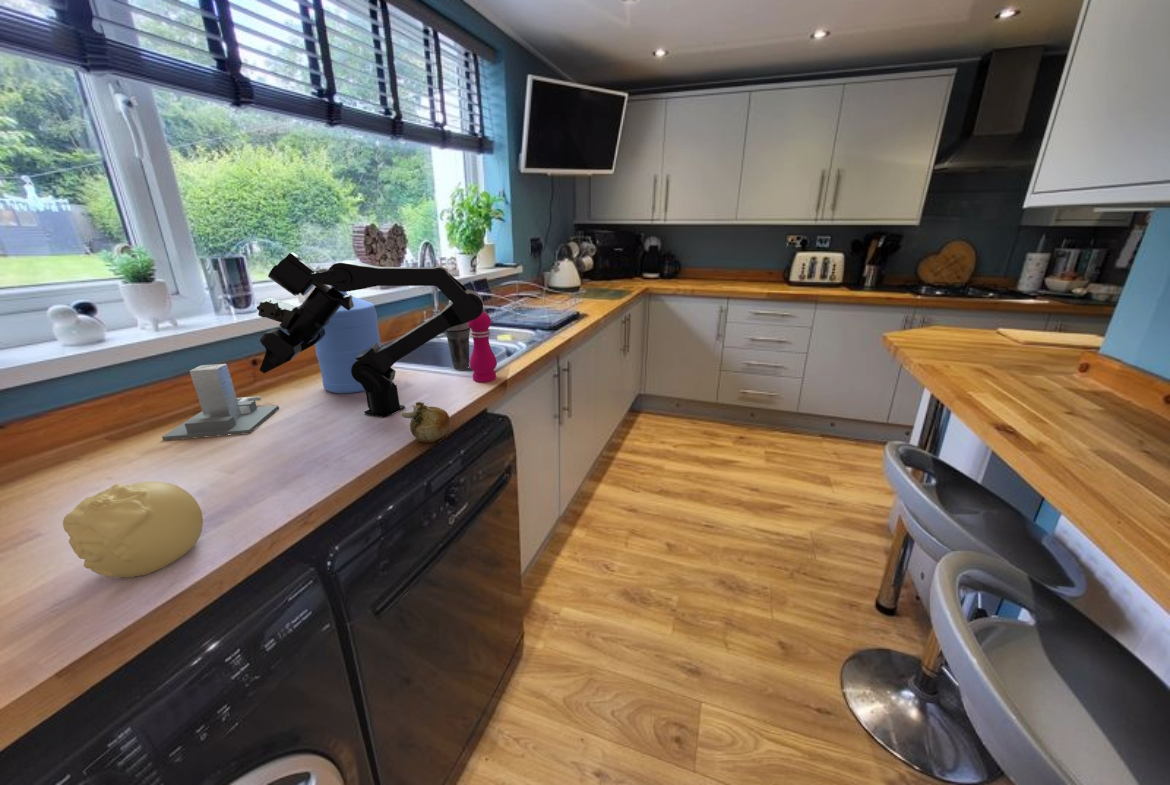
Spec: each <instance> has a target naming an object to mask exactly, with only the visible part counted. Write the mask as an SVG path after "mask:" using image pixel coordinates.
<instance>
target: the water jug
mask: <svg viewBox="0 0 1170 785" xmlns="http://www.w3.org/2000/svg"><path fill="white" fill-rule="evenodd" d="M329 287H330V288H332V287H333V286H331V285H329ZM340 292H341V293H343V294H344V295H349V293H348V292H342V291H340ZM352 301H353V304H354V307H353V308H351V309H350V310H347V309H345V308H344V307H343V306H341V307H340V308H339V309H338V310H337V311H336V313H335V314H334V315H333V316H332V317H331V319H330V320H329V321H330V322H329V323H328V324H327V325H326V326H324V327H323V328H324V329H325V335H324V336H323V338H322V339H321V340H320V341H318V342H317V343H316V344H314V347H315V355H316V358H317V360H318V364H319V365H318V366H319V369H320V374H321V381H322V385H323V388H324V389H325V390H326V391H328V392H330V393H334V394H351V393H352V394H353V393H361V392H366V391H365V389H364V388H363V386H362V385H361V383H359V382H357V381H356V380H355V379H354V378H353V376H352V373H351V368H352V365H353V364H354V363H355V361H356V359H355V358H356V357H357V356H358V354H359V353H360V352H361V351H362V350H366V349H368V348H370V347H371V346H372V345H373V344H374V343H375V342H377V343H378V345H379V347H381V346H382V342H381V337H380V330H379V325H378V314H377V311H376V306H375V304H374V303H373V302H370V301H367V300H364V299H362V298H359V297H355V296H353V295H352Z"/></svg>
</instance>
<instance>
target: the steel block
mask: <svg viewBox="0 0 1170 785" xmlns="http://www.w3.org/2000/svg"><path fill="white" fill-rule="evenodd" d="M228 367H229V366H228V364H227V363H218V364H201V365H198V366H197V367H195V368H192V369H191V370H189V374H190V377H191V380H192V384H193V386H194V389H195V393H196V395H197V400H198V402H199V405H200V409H201V411H202V412H203V415H204V418H215V417H229V416H234V417H235V420H237V419H238V418H239V417H241V416H242V415H241V411H240V408H239V404H238V401H237V398H238V397H237V394H236V391H235V387H234V384H233V380H232V377H231V374H230V370H229V368H228Z"/></svg>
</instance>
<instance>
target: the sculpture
mask: <svg viewBox="0 0 1170 785" xmlns="http://www.w3.org/2000/svg"><path fill="white" fill-rule="evenodd" d="M62 526H63V530H64V532H66V533H67V535H68V536H69V539H68V544H69V545H70V547H71V548H72V551H73V552H74V554H75V555H76V556H77V557H78V558H79V559H81V560H84V562H83V567H84V568H85V569H89V570H90V571H91V572H93V573H96V574H97V575H101V576H105V577H106V578H136V577H135V576H137V577H141V575H142V576H145V574H146V575H148V573H149V574H151V572H152V573H153V572H157V571H158V570H159V571H160V570H161V569H162V568H165V567H167V566H169V565H170V564H172V563H173V562H175V561H177V560H178V559H179V558H181V557H183V555H185V554H186V553H188V552H189V551H190V550H191V549H192V548H193V547H194V546H195V544H197V542H198V541H199V539H200V536H201V534H202V531H203V527H204V517H203V512H202V508H201V507H200V504H199V502H198V501H197V500H196V498H195V497H193V495H191V493H190V492H189V491H187V490H186V489H184V488H182V487H181V486H178V485H177V484H174V483H173V484H172V483H169V482H164V481H143V482H136V483H132V484H120V483H115V484H113V485H112V486H110V487H109V488H107V489H105V490H101V491H99V492H98V493H96V494H94V495H92V496H89V497H87V498H85V499H83V500H81V502H79V503H78V504H77V505H76V506H75V508H73V510H72V511H70V512H68V513H67V514H65V516H64V517H63V520H62Z"/></svg>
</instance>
